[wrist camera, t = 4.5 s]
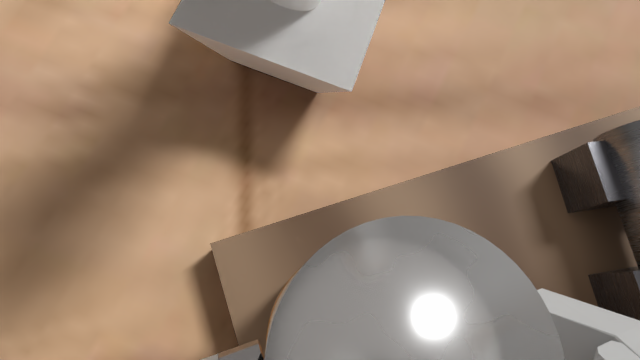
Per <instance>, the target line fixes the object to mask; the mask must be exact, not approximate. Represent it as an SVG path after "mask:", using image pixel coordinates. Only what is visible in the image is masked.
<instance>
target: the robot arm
mask: <svg viewBox="0 0 640 360" xmlns="http://www.w3.org/2000/svg"><path fill="white" fill-rule="evenodd" d="M536 290H537V289H536ZM537 291H538V293H539V294H540V296H541V297H542V299H543V301H544V303H545V305H546V307H547V309H548V310H549V312H550V314H551V317H552V319H553V322H554V324H555V327H556V329H557V332H558V334H559V338H560V341H561V345H562V349H563V352H564V357H565V360H640V321H639V320H636V319H633V318H630V317H627V316H624V315H621V314H618V313H615V312H612V311H609V310H606V309H603V308H600V307H597V306H594V305H591V304H588V303H585V302H582V301H579V300H576V299H573V298H570V297H567V296H564V295H561V294H558V293H555V292H552V291H549V290H546V289H543V288H541V289H539V290H537ZM201 360H264V355H263V351H262V348H261V345H260V343H259V340H255V341H252V342H249V343H246V344H243V345H240V346H238V347H235V348H232V349H229V350H226V351H223V352H220V353H218V354H215V355H212V356H209V357H207V358H204V359H201Z"/></svg>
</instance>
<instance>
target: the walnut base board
mask: <svg viewBox="0 0 640 360" xmlns="http://www.w3.org/2000/svg"><path fill="white" fill-rule="evenodd" d="M638 120H640V107H637V108H633V109H630V110H627V111H624V112H621V113H618V114H615V115H611V116H608V117H605V118H602V119H599V120H596V121H593V122H590V123H586V124H583V125H580V126H577V127H574V128H571V129H568V130H564V131H561V132H558V133H555V134H552V135H549V136H546V137H543V138H539V139H536V140H533V141H530V142H527V143H524V144H521V145H517V146H514V147H511V148H508V149H505V150H502V151H499V152H496V153H492V154H489V155H486V156H483V157H480V158H477V159H474V160H470V161H467V162H464V163H461V164H458V165H455V166H452V167H449V168H445V169H442V170H439V171H436V172H433V173H430V174H427V175H423V176H420V177H417V178H414V179H411V180H408V181H405V182H402V183H398V184H395V185H392V186H389V187H386V188H383V189H380V190H377V191H373V192H370V193H367V194H364V195H361V196H358V197H355V198H351V199H348V200H345V201H342V202H339V203H336V204H333V205H330V206H326V207H323V208H320V209H317V210H314V211H311V212H308V213H304V214H301V215H298V216H295V217H292V218H289V219H286V220H283V221H279V222H276V223H273V224H270V225H267V226H264V227H261V228H257V229H254V230H251V231H248V232H245V233H242V234H239V235H236V236H232V237H229V238H226V239H223V240H220V241H217V242H214V243H210V245H211V248H212V252H213V255H214V259H215V263H216V266H217V270H218V273H219V277H220V280H221V284H222V288H223V291H224V295H225V298H226V302H227V306H228V309H229V313H230V316H231V320H232V324H233V327H234V331H235V334H236V338H237V341H238V345H239V346H240V345H243V344H246V343H249V342H252V341H255V340H259V343H260V345H261V348H262V351H263V355H264V358H265V350H266V335H267V329H268V322H269V319H270V314H271V311H272V307H273V305H274V302H275V300H276V298H277V296H278V294H279V293H280V291H281V290H282V288H283V287H284V286H285V284H286V283H287V282H288V280H289V279H290V278H291V277H292V276H293V275H294V274H295V273H296V272H297V271H298V270H299V269H300V268H301V267H302V266H303V265H304V264H305V263H306V262H307V261H308V260H309V259H310V258H311V257H312V256H313V255H314V254H315V253H316V252H317V251H318V250H319V249H320V248H322V247H323V246H324V245H326V244H327V243H328V242H329V241H331V240H332V239H333V238H335V237H337V236H339V235H340V234H342V233H344V232H345V231H347V230H349V229H351V228H354V227H356V226H358V225H361V224H363V223H366V222H370V221H373V220H377V219H381V218H387V217H395V216H423V217H430V218H436V219H440V220H444V221H447V222H451V223H454V224H457V225H459V226H462V227H464V228H466V229H469V230H471V231H473V232H475V233H476V234H478V235H480V236H482V237H483V238H485V239H487V240H488V241H490V242H491V243H492V244H494V245H495V246H496V247H498V248H499V249H500V250H502V251H503V252H504V253H505V254H506V255H507V256H508V257H509V258H511V259H512V260H513V261H514V262H515V263H516V264H517V265H518V266H519V268H520V269H521V270H522V271H523V272H524V273H525V275H526V276H527V277H528V278H529V279H530V281H531V282H532V284H533V285H534V287H535V288H536V289H537V290H539V289H541V288H543V289H546V290H549V291H552V292H555V293H558V294H561V295H564V296H567V297H570V298H573V299H576V300H579V301H582V302H585V303H588V304H591V305H594V306H597V307H598V305H597V301H596V298H595V295H594V292H593V289H592V286H591V283H590V280H589V277H588V275H590V274H596V273H601V272H607V271H612V270H618V269H623V268H629V267H635V266H637V263H636V260H635V257H634V255H633V252H632V249H631V246H630V243H629V241H628V238H627V235H626V232H625V229H624V227H623V224H622V221H621V218H620V215H619V213H618V210H617V207H616V206H613V207H607V208H600V209H593V210H587V211H580V212H574V213H568V212H567V209H566V206H565V203H564V200H563V197H562V194H561V191H560V187H559V184H558V181H557V178H556V175H555V172H554V169H553V166H552V163H551V160H553V159H555V158H557V157H559V156H561V155H563V154H565V153H567V152H569V151H571V150H573V149H575V148H577V147H579V146H581V145H583V144H585V143H588V142H593V140H594V138H596V137H597V136H599V135H600V134H602V133H604V132H607V131H609V130H611V129H614V128H616V127H619V126H622V125H625V124H628V123H631V122H634V121H638Z"/></svg>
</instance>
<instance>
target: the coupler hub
mask: <svg viewBox="0 0 640 360" xmlns="http://www.w3.org/2000/svg"><path fill="white" fill-rule="evenodd" d="M264 360H565V357H564V352H563V349H562V345H561V341H560V338H559V334H558V332H557V329H556V327H555V324H554V322H553V319H552V317H551V314H550V312H549V310H548V309H547V307H546V305H545V303H544V301H543V299H542V297H541V296H540V294H539V293H538V291H537V290H536V288H535V287H534V285H533V284H532V282H531V281H530V279H529V278H528V277H527V276H526V275H525V273H524V272H523V271H522V270H521V269H520V268H519V266H518V265H517V264H516V263H515V262H514V261H513V260H512V259H511V258H509V257H508V256H507V255H506V254H505V253H504V252H503V251H502V250H500V249H499V248H498V247H496V246H495V245H494V244H492V243H491V242H490V241H488V240H487V239H485V238H483V237H482V236H480V235H478V234H476V233H475V232H473V231H471V230H469V229H466V228H464V227H462V226H459V225H457V224H454V223H451V222H447V221H444V220H440V219H436V218H430V217H423V216H395V217H387V218H381V219H377V220H373V221H370V222H366V223H363V224H361V225H358V226H356V227H354V228H351V229H349V230H347V231H345V232H344V233H342V234H340V235H339V236H337V237H335V238H333V239H332V240H331V241H329V242H328V243H327V244H326V245H324V246H323V247H322V248H320V249H319V250H318V251H317V252H316V253H315V254H314V255H313V256H312V257H311V258H310V259H309V260H308V261H307V262H306V263H305V264H304V265H303V266H302V267H301V268H300V269H299V270H298V271H297V272H296V273H295V274H294V275H293V276H292V277H291V278H290V279H289V280H288V282H287V283H286V284H285V286H284V287H283V288H282V290H281V291H280V293H279V294H278V296H277V298H276V300H275V302H274V305H273V307H272V311H271V314H270V319H269V322H268V329H267V335H266V350H265V358H264Z"/></svg>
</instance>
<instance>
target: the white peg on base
mask: <svg viewBox="0 0 640 360" xmlns="http://www.w3.org/2000/svg"><path fill="white" fill-rule="evenodd" d="M384 2H385V0H181V2H180V4H179V5H178V7H177V9H176V11H175V13H174V14H173V16H172V18H171V20H170V21H169V24H171V25H172V26H174V27H176V28H177V29H179V30H181V31H182V32H184V33H186V34H187V35H189V36H191V37H192V38H194V39H196V40H197V41H199V42H201V43H202V44H204V45H205V46H207V47H209V48H210V49H212V50H214V51H215V52H217V53H219V54H220V55H222V56H224V57H225V58H227V59H229V60H231V61H233V62H236V63H239V64H241V65H244V66H247V67H249V68H252V69H255V70H257V71H260V72H263V73H265V74H268V75H271V76H273V77H276V78H279V79H282V80H284V81H287V82H290V83H292V84H295V85H298V86H300V87H303V88H306V89H308V90H311V91H314V92H316V93H327V92H352V89H353V86H354V84H355V81H356V78H357V75H358V73H359V70H360V67H361V65H362V62H363V59H364V56H365V54H366V51H367V48H368V46H369V43H370V40H371V37H372V35H373V32H374V29H375V26H376V24H377V21H378V18H379V16H380V13H381V10H382V7H383V5H384Z"/></svg>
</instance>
